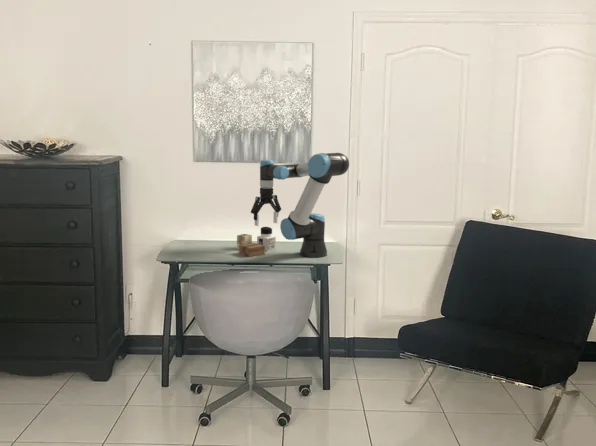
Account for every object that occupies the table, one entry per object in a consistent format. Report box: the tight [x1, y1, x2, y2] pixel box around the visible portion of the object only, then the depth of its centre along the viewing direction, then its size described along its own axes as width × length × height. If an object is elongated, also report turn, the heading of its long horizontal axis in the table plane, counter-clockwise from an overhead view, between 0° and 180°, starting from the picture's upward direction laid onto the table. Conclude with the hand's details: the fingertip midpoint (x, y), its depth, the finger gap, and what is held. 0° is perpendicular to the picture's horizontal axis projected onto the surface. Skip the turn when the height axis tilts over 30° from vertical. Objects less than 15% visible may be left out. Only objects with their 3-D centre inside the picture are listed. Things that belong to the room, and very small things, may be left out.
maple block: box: [236, 233, 253, 250], centre depth 366 cm, size 6×6×8 cm
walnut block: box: [238, 242, 266, 258], centre depth 353 cm, size 10×10×5 cm
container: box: [256, 226, 277, 252], centre depth 365 cm, size 8×8×13 cm
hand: (266, 224), depth 363 cm, fingers open, 13 cm apart
